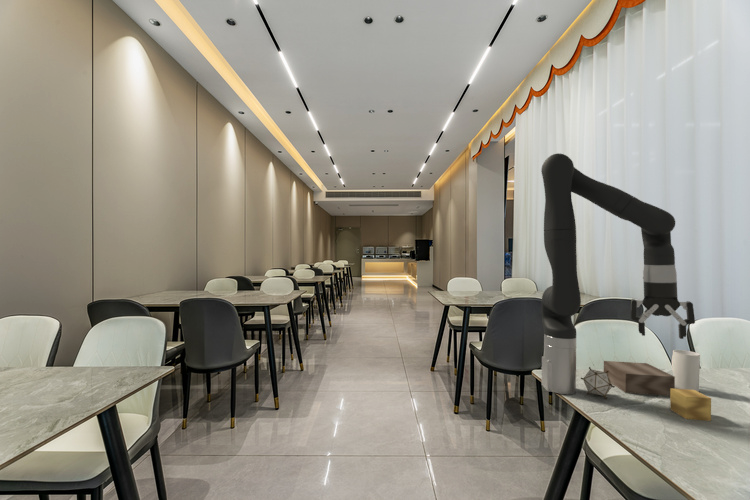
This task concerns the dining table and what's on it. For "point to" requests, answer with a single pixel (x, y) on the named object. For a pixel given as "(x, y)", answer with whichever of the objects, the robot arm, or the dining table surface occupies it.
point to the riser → (639, 378)
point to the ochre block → (690, 404)
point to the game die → (597, 382)
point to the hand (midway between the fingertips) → (661, 336)
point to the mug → (686, 369)
